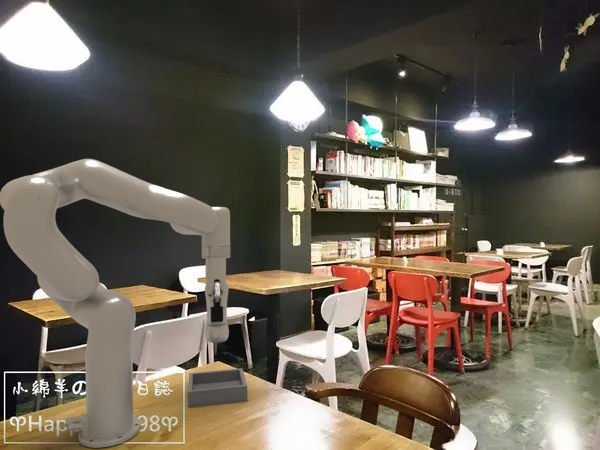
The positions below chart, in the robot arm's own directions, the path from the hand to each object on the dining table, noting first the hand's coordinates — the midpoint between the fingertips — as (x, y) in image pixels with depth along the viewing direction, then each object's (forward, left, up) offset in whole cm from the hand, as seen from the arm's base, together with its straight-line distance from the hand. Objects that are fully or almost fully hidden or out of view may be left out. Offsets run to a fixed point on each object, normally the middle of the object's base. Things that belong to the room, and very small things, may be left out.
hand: (216, 318), depth 111 cm
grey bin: (0, 0, -21) cm, 21 cm away
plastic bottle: (0, 0, -7) cm, 7 cm away
